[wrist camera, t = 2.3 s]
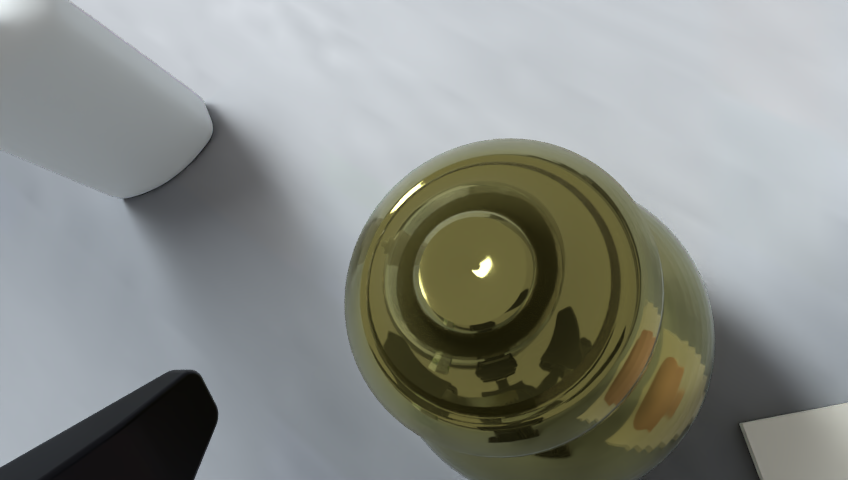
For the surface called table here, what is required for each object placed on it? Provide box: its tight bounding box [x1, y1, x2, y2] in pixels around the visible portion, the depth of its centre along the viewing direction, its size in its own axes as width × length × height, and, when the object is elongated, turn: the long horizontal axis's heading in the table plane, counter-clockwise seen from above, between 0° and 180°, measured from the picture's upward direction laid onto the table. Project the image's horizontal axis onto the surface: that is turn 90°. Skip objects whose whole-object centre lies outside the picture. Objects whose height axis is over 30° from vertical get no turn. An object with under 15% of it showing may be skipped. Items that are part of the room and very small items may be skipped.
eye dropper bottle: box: [0, 0, 213, 198], centre depth 19 cm, size 4×6×12 cm
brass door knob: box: [345, 138, 715, 480], centre depth 12 cm, size 7×7×10 cm
